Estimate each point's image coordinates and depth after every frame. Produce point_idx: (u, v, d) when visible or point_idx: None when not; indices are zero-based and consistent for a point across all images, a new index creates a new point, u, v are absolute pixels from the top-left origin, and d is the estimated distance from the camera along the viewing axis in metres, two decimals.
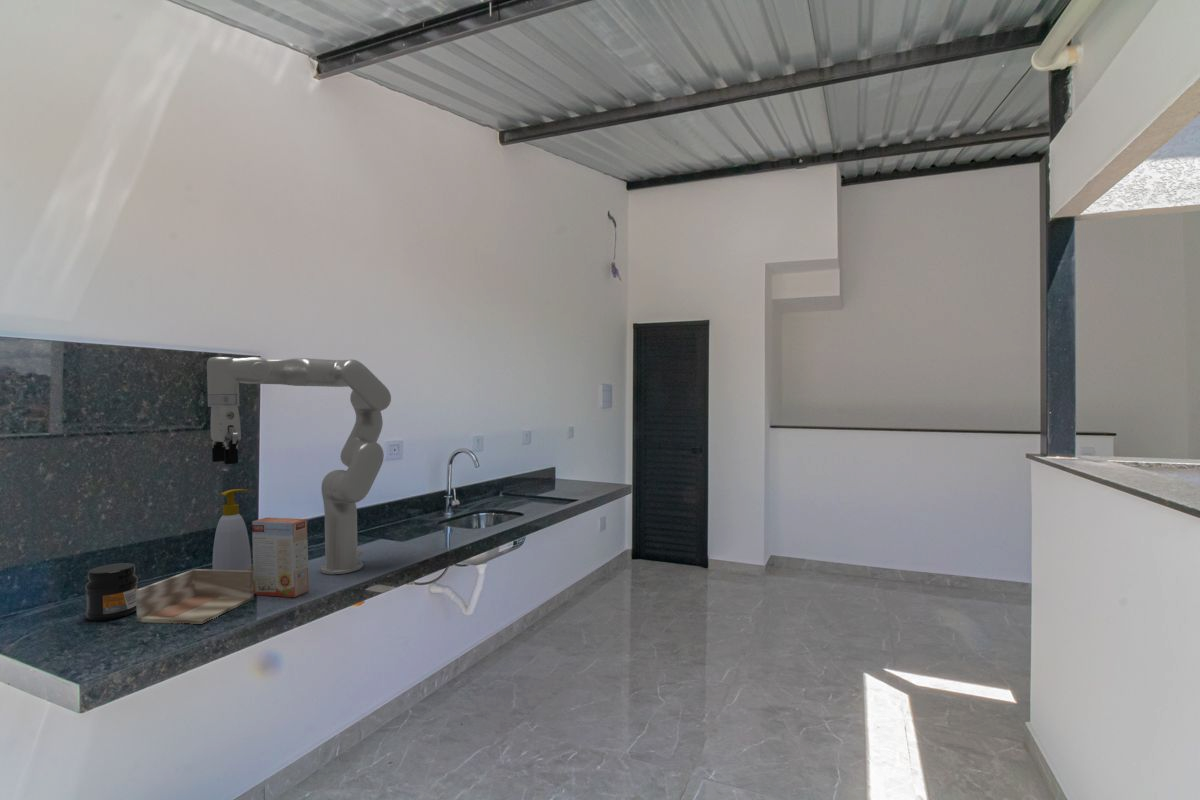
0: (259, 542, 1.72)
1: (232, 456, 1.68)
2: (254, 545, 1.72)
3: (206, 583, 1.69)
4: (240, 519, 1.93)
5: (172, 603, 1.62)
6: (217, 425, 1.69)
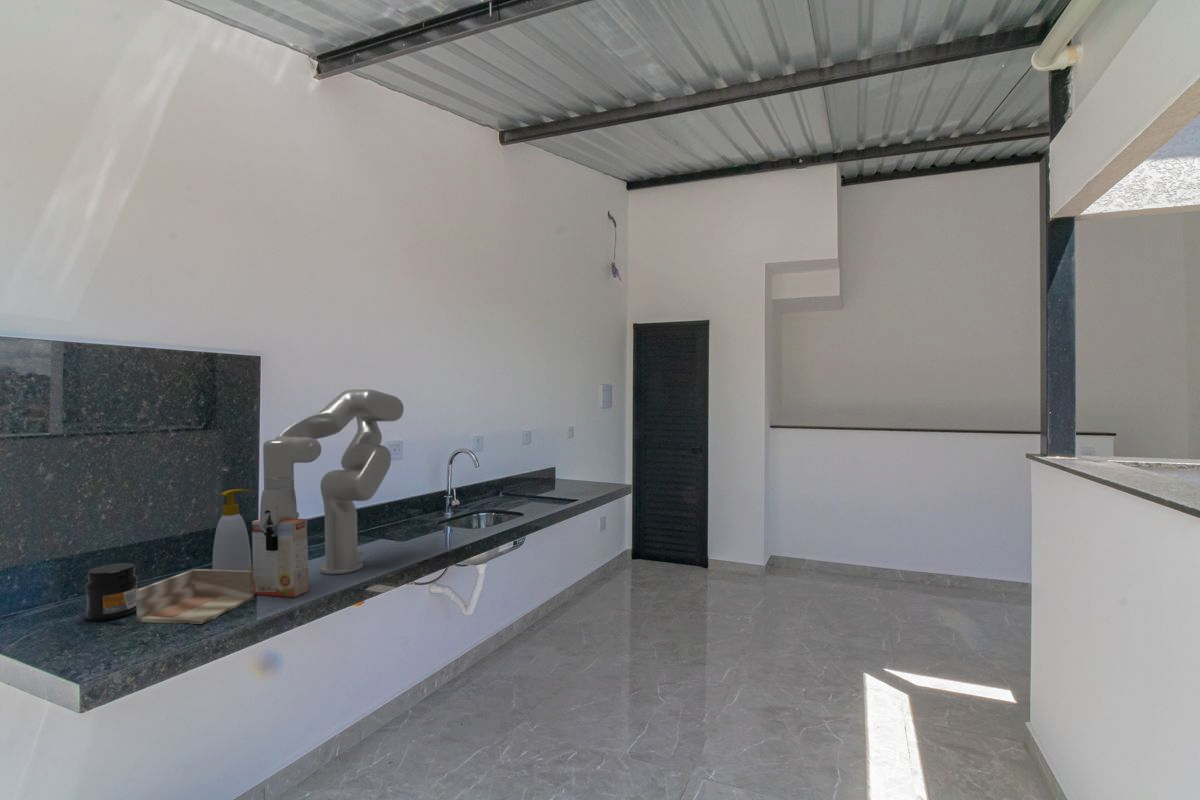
0: (258, 542, 1.72)
1: None
2: (254, 545, 1.72)
3: (206, 583, 1.69)
4: (240, 519, 1.93)
5: (172, 603, 1.62)
6: (292, 505, 1.75)
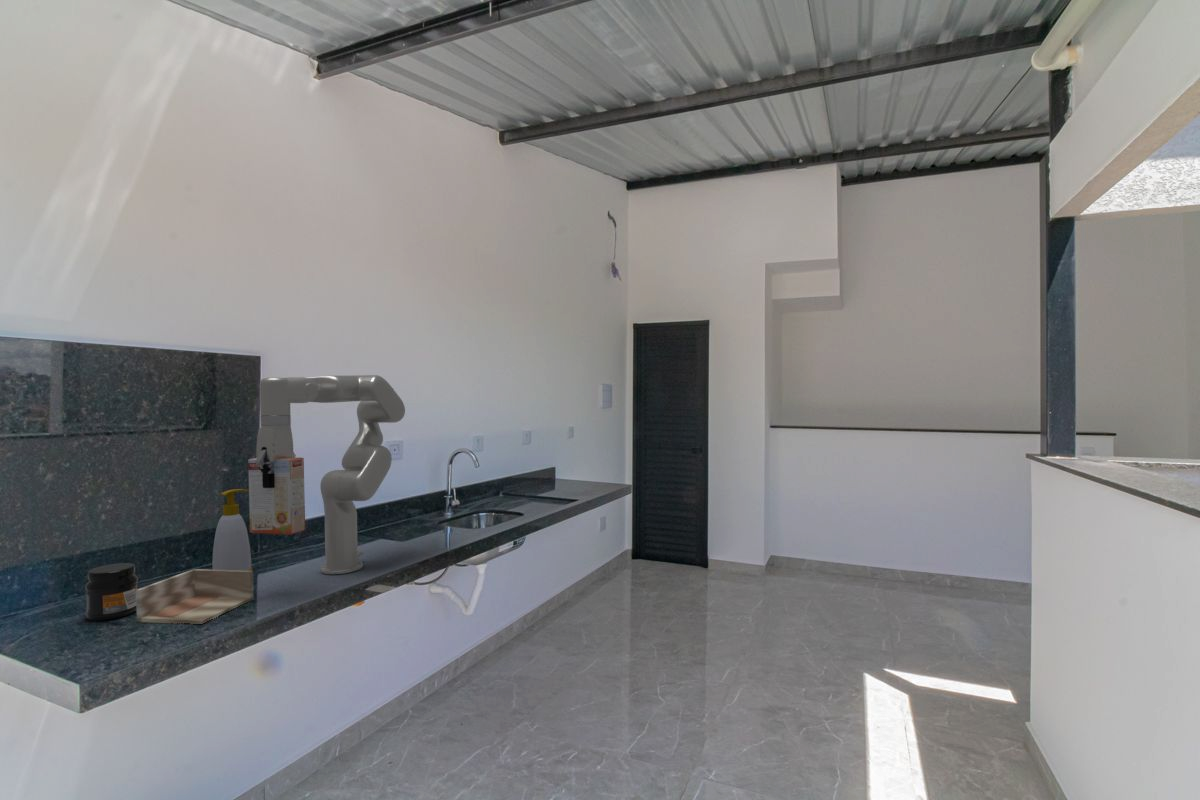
0: (255, 480, 1.71)
1: None
2: (250, 483, 1.72)
3: (206, 583, 1.69)
4: (240, 519, 1.93)
5: (172, 603, 1.62)
6: (289, 444, 1.75)
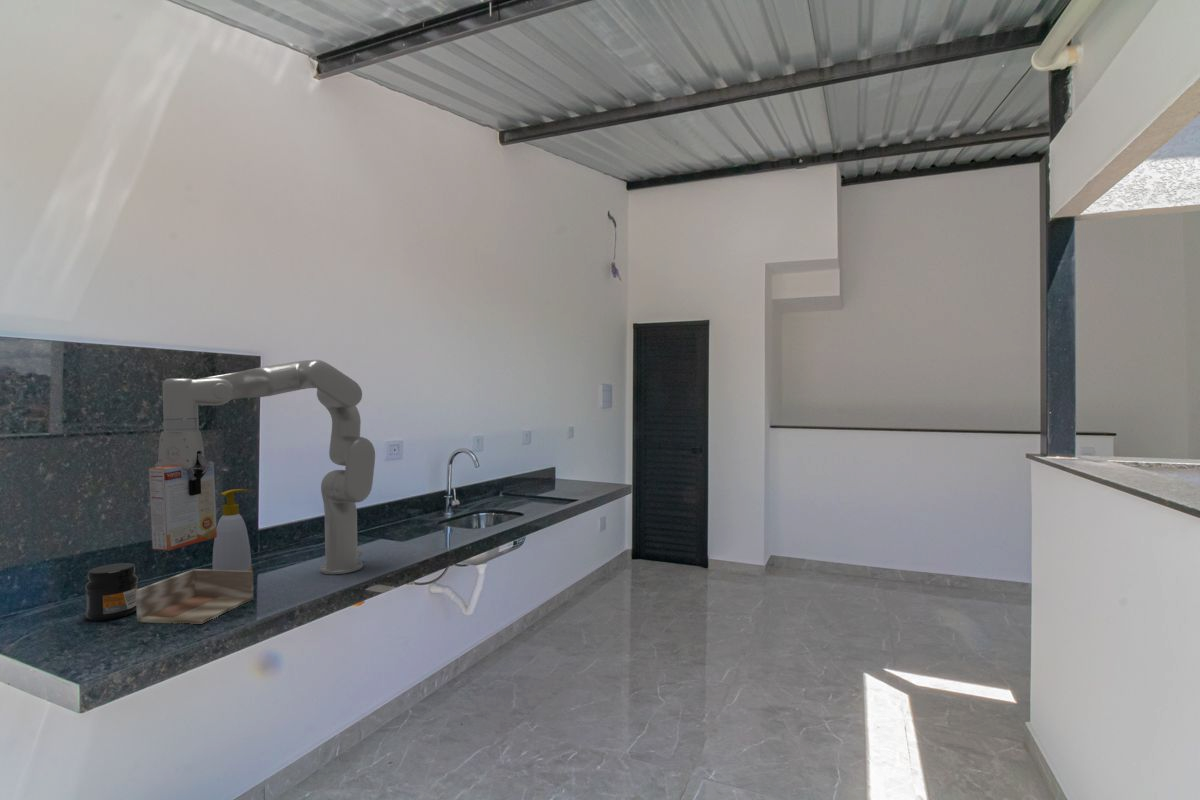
0: (175, 490, 1.56)
1: None
2: (168, 495, 1.54)
3: (206, 583, 1.69)
4: (240, 519, 1.93)
5: (172, 603, 1.62)
6: None
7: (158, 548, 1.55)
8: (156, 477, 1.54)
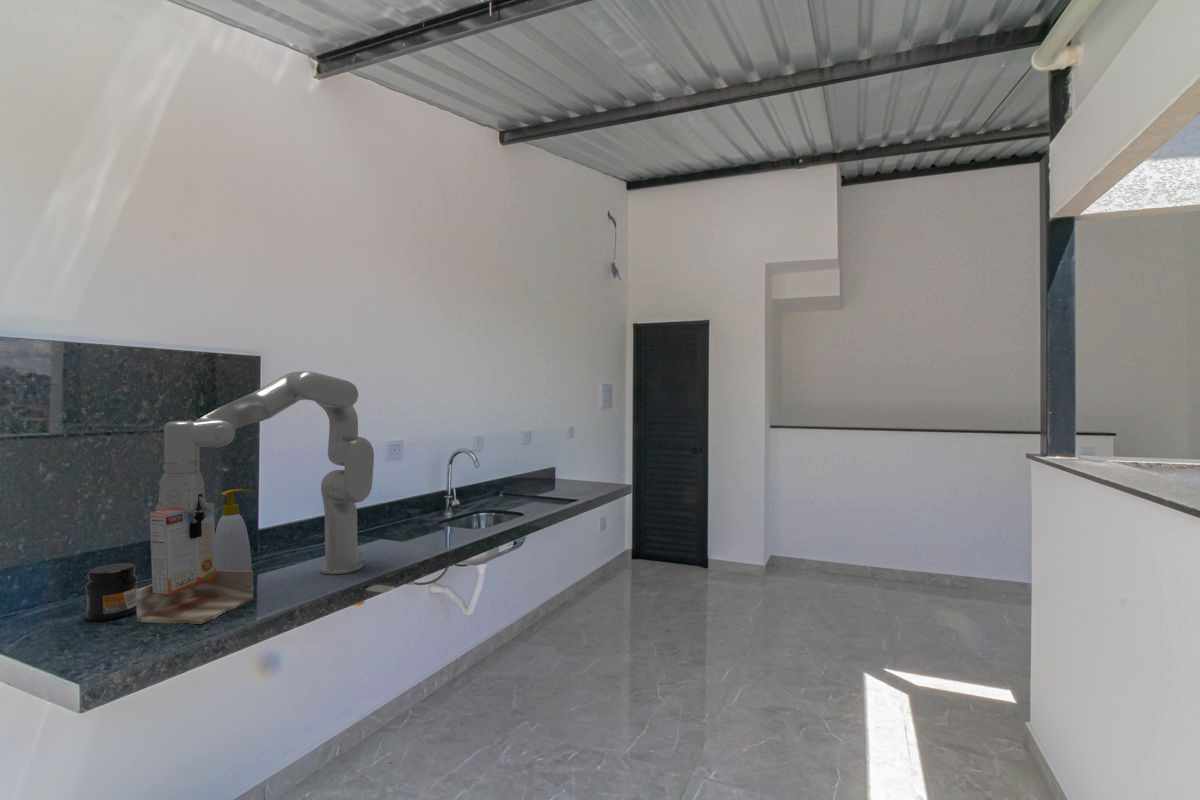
0: (176, 534, 1.56)
1: None
2: (170, 539, 1.54)
3: (206, 583, 1.69)
4: (240, 519, 1.93)
5: (172, 603, 1.62)
6: None
7: (159, 593, 1.54)
8: (157, 521, 1.54)
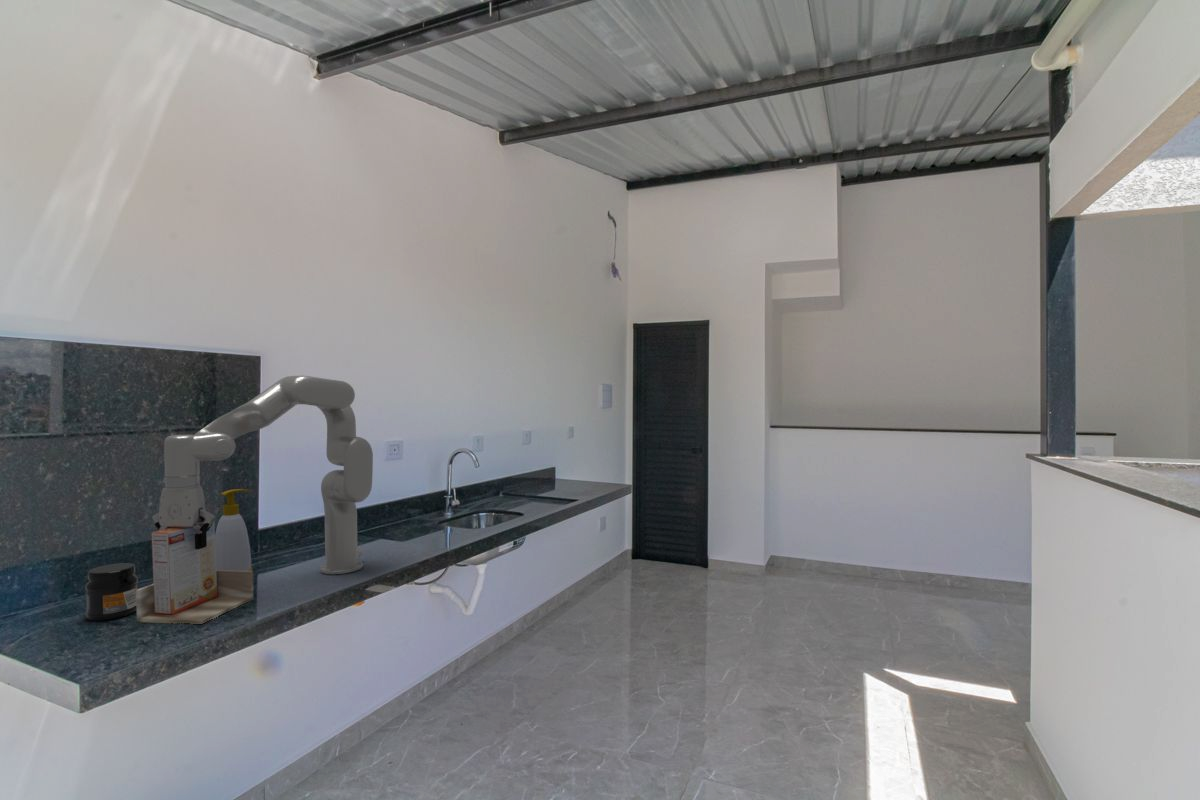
0: (178, 553, 1.56)
1: None
2: (172, 559, 1.55)
3: None
4: (240, 519, 1.93)
5: None
6: None
7: (161, 612, 1.55)
8: (159, 541, 1.54)
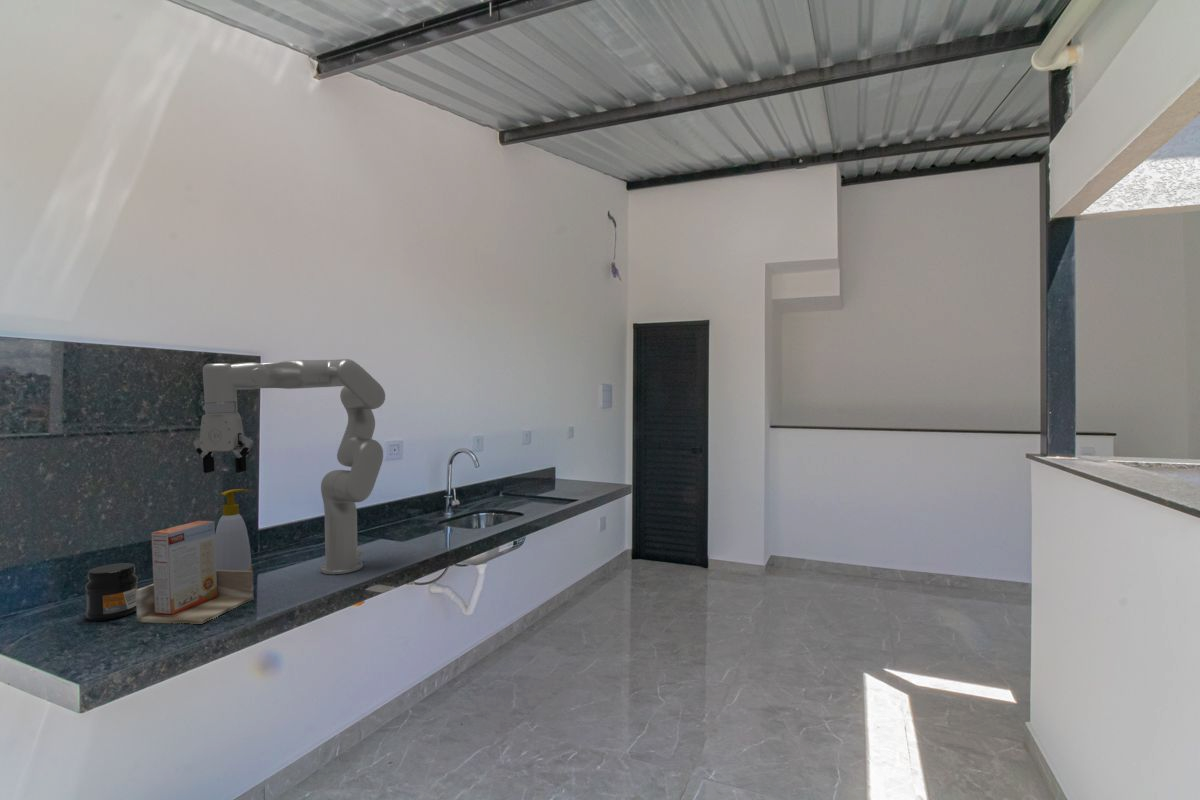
0: (178, 553, 1.56)
1: None
2: (172, 559, 1.55)
3: None
4: (240, 519, 1.93)
5: None
6: None
7: (161, 612, 1.55)
8: (159, 541, 1.54)
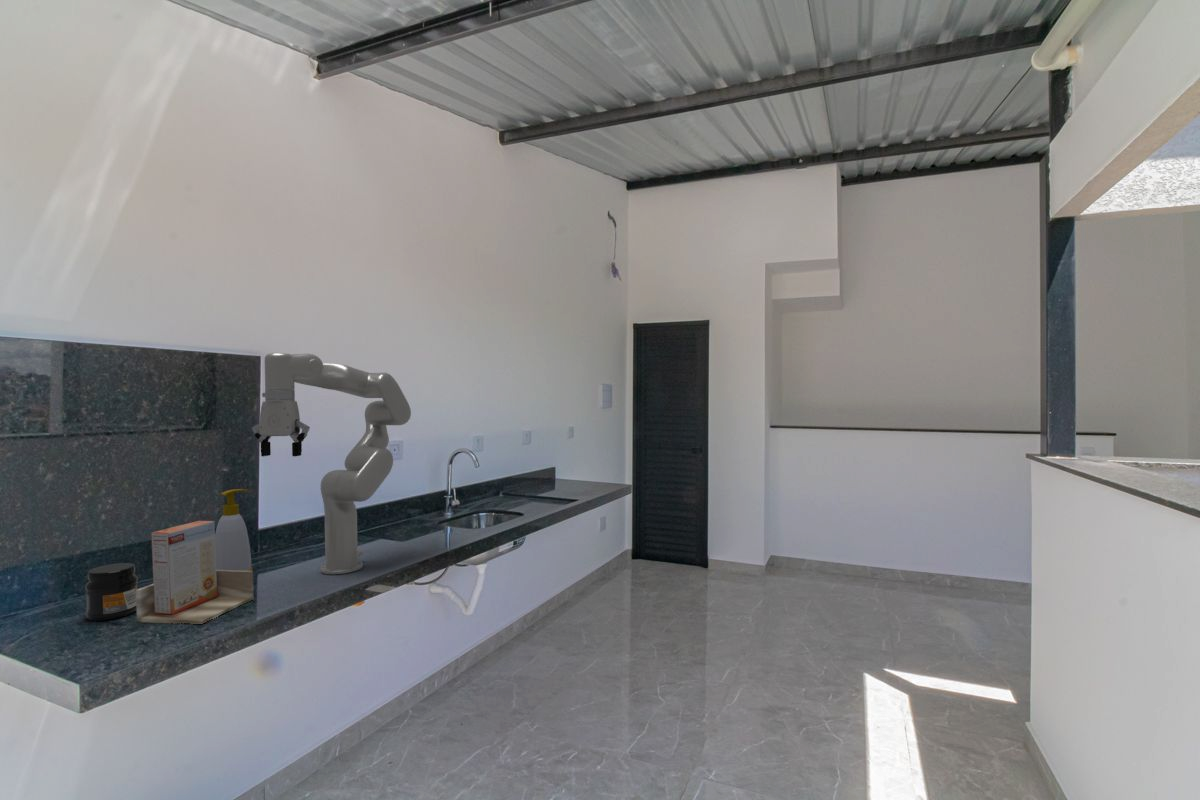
0: (178, 553, 1.56)
1: None
2: (172, 559, 1.55)
3: None
4: (240, 519, 1.93)
5: None
6: None
7: (161, 612, 1.55)
8: (159, 541, 1.54)
